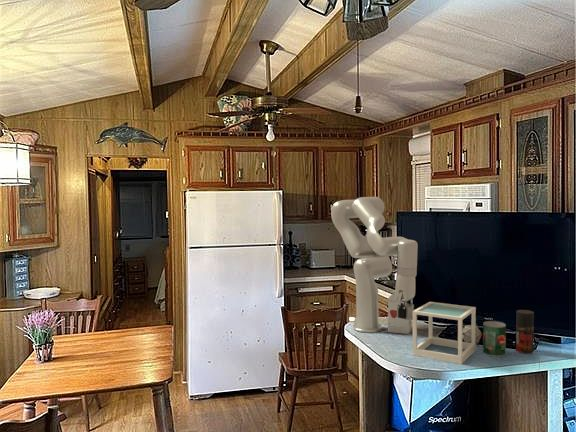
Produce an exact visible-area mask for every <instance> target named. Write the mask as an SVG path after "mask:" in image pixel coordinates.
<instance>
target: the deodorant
mask: <svg viewBox="0 0 576 432" xmlns="http://www.w3.org/2000/svg"><path fill="white" fill-rule="evenodd" d="M515 313H516V314H515V315H516V317H515V318H516V319H515V321H516V323H515V324H516V325H515V326H516V327H515V339H516V341H515V351H516V352H517V353H519V354H525V355H531V354H534V341H535V340H534V339H535V338H534V337H535V333H534V332H535V331H534V330H535V312H534V311H532V310H529V309H518V310H516V312H515Z"/></svg>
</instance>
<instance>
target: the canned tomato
mask: <svg viewBox="0 0 576 432" xmlns="http://www.w3.org/2000/svg"><path fill="white" fill-rule="evenodd" d="M482 326H483V327H482V333H483V335H482V353H483V354H484V355H486V356H491V357H504V356H506V354H507V349H506V343H507V342H506V341H507V338H506V337H507V336H506V335H507V333H506V332H507V324H506V323H505V322H501V321H495V320H487V321H484V322H483V324H482Z"/></svg>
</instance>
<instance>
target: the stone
mask: <svg viewBox="0 0 576 432" xmlns="http://www.w3.org/2000/svg"><path fill="white" fill-rule="evenodd" d="M403 304H404V303H403ZM406 309H407V313H406V320H409V319H411V318H412V319H413V311H414V310H415V304H408V303H406ZM397 318H399V317H398V305H397ZM401 319H403V318H401Z"/></svg>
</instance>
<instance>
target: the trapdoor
mask: <svg viewBox="0 0 576 432" xmlns="http://www.w3.org/2000/svg"><path fill="white" fill-rule="evenodd" d="M466 311H467V309H460V308H454V307H447V306H441V305H434V304H431V305H430V306H428V307H426V308H424V309H423V310H421V312H428V313H436V314H443V315H451V316H458V317H459V316H461V315H462V314H463V313H465V312H466Z"/></svg>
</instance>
